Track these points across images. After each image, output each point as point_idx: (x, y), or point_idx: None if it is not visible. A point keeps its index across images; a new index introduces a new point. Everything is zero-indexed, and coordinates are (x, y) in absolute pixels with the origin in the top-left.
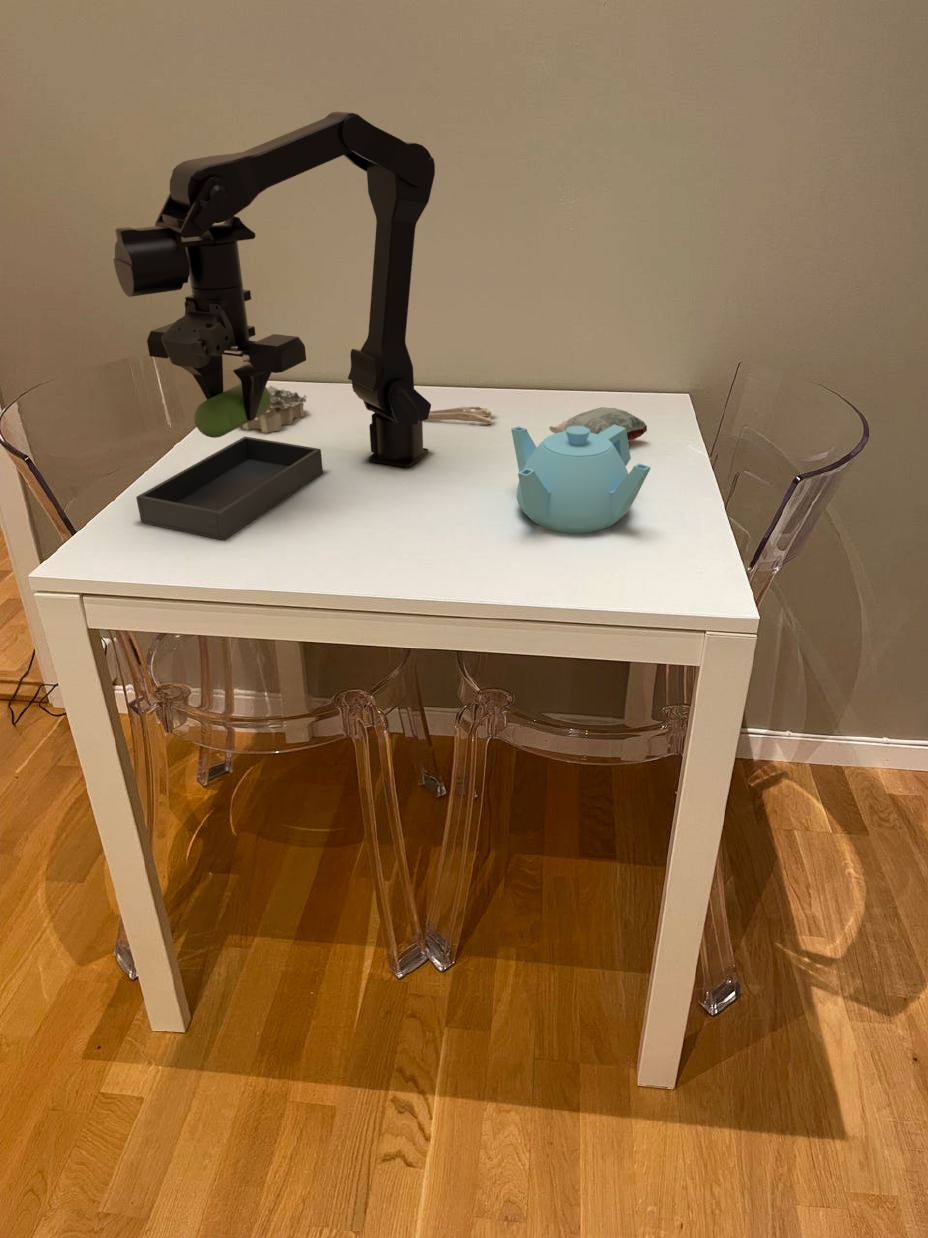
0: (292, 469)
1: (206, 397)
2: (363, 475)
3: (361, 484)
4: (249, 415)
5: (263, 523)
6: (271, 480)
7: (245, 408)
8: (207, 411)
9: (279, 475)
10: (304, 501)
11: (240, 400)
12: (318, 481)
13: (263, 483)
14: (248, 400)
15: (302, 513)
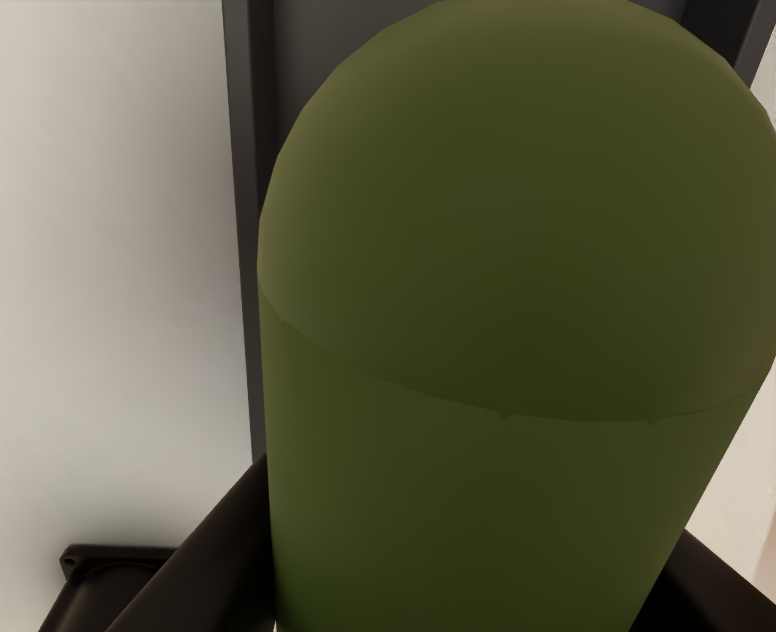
0: (247, 380)
1: (759, 598)
2: (151, 484)
3: (111, 435)
4: (244, 481)
5: (199, 37)
6: (239, 248)
7: (253, 531)
8: (508, 91)
9: (243, 306)
10: (188, 277)
11: (304, 615)
12: (248, 417)
13: (251, 206)
14: (142, 621)
15: (123, 183)
